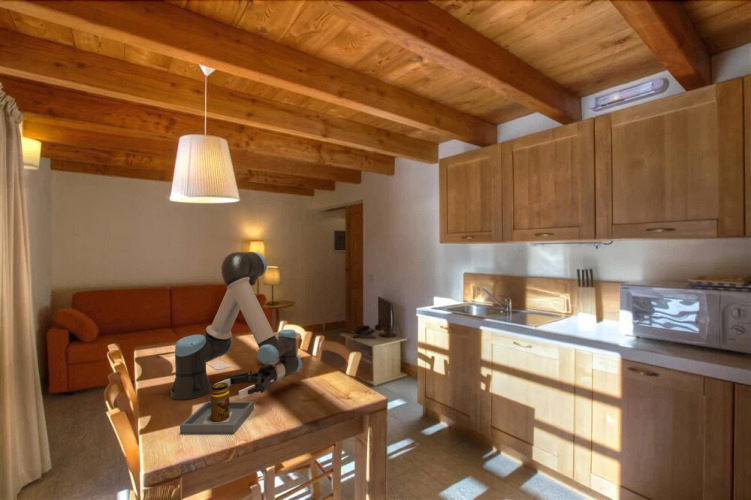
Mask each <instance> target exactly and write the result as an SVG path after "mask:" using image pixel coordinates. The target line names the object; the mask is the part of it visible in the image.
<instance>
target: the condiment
mask: <svg viewBox="0 0 751 500" xmlns="http://www.w3.org/2000/svg"><path fill="white" fill-rule="evenodd" d="M210 402H211V414H208V415H207V417H206V419H205V421H204V423H203V424H210V423H222V422H228V421H229V419H230V417H231V415H232V412H230V411H229V410H230V408H229V402H230V390H229V387H228V384H227V383H219V382H217V384H216V383H214V384H213V385H211V393H210Z"/></svg>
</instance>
